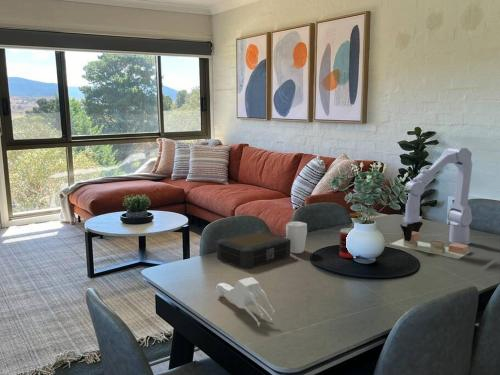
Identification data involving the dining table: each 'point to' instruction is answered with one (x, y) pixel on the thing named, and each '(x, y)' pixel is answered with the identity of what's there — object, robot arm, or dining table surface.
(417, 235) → the cap marked
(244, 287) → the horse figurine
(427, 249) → the board
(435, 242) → the plain block
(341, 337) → the dining table surface
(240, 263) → the cash box
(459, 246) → the cap plain
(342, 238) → the canned food
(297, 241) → the cup
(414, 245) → the marked block
